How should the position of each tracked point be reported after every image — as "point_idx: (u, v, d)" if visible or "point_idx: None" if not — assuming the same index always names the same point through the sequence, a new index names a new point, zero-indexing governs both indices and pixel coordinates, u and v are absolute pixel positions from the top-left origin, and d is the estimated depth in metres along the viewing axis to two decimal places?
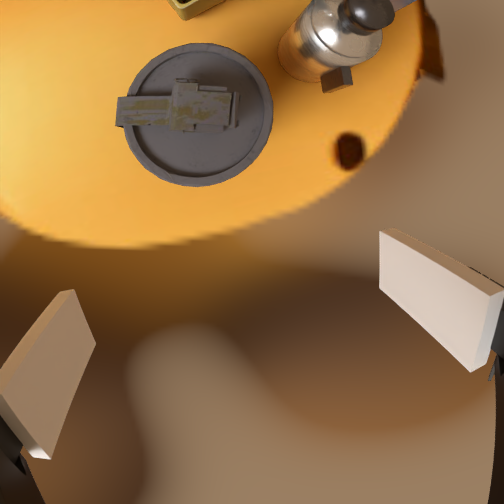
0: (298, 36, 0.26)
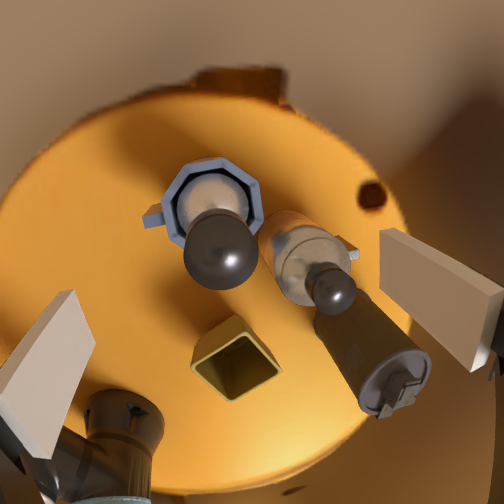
0: None
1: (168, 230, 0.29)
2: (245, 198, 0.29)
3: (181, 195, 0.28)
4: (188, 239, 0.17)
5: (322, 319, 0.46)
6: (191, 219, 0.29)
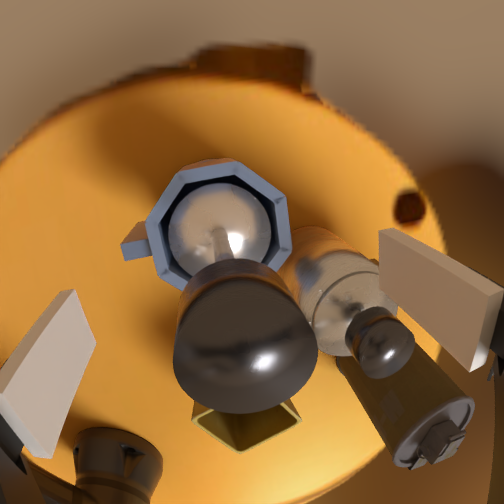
0: None
1: (156, 264, 0.20)
2: (266, 219, 0.21)
3: (174, 215, 0.20)
4: (181, 338, 0.08)
5: None
6: (189, 249, 0.21)
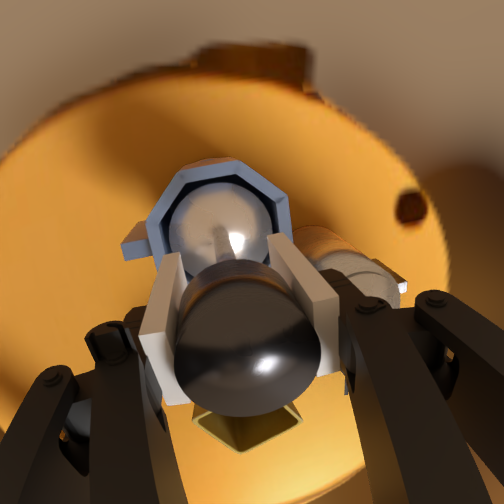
0: None
1: (157, 265, 0.20)
2: (268, 219, 0.20)
3: (175, 214, 0.20)
4: (182, 341, 0.08)
5: None
6: (190, 249, 0.20)
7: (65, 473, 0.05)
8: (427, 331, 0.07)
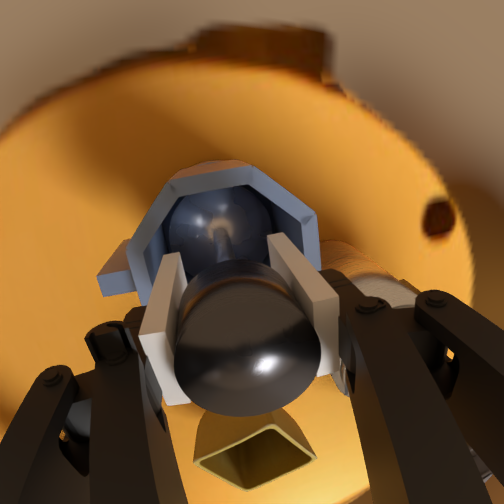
0: None
1: (143, 304, 0.15)
2: (268, 219, 0.20)
3: (175, 215, 0.20)
4: (182, 341, 0.08)
5: None
6: (190, 249, 0.20)
7: (65, 473, 0.05)
8: (427, 331, 0.07)
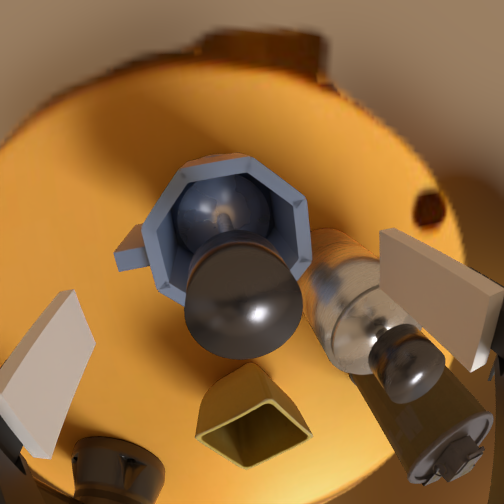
0: None
1: (155, 277, 0.17)
2: (266, 205, 0.23)
3: (183, 201, 0.22)
4: (191, 288, 0.10)
5: None
6: (196, 232, 0.23)
7: None
8: None
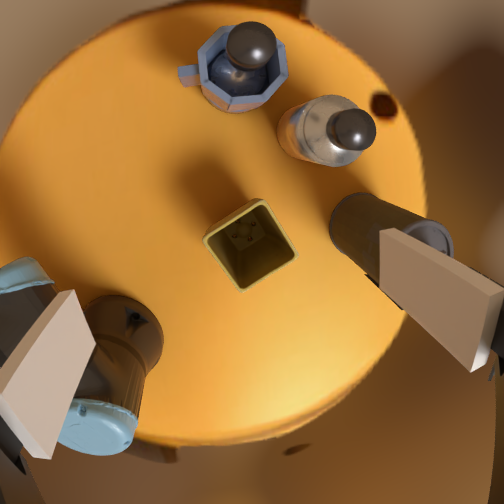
0: None
1: (201, 76, 0.28)
2: (264, 68, 0.34)
3: (215, 62, 0.33)
4: (231, 30, 0.21)
5: (339, 218, 0.46)
6: (221, 79, 0.34)
7: None
8: None
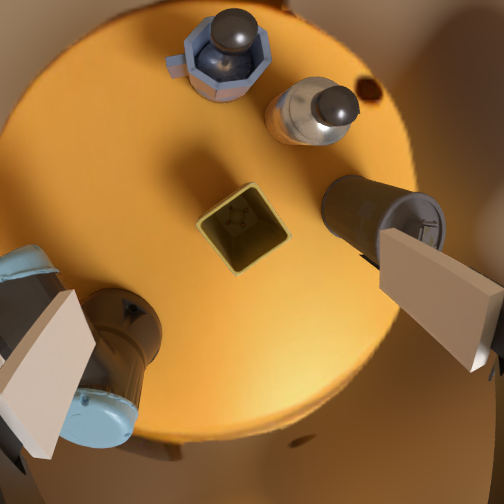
0: None
1: (188, 64, 0.29)
2: (248, 56, 0.34)
3: (201, 52, 0.34)
4: (215, 17, 0.22)
5: (330, 200, 0.46)
6: (208, 69, 0.34)
7: None
8: None
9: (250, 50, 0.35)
